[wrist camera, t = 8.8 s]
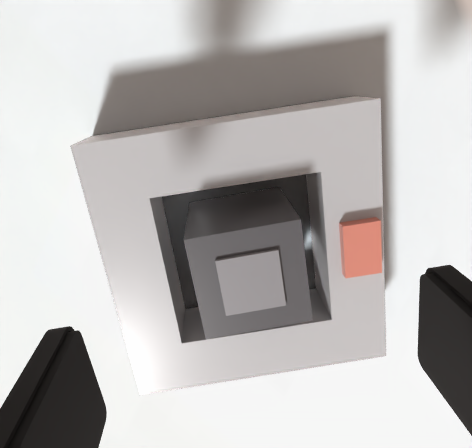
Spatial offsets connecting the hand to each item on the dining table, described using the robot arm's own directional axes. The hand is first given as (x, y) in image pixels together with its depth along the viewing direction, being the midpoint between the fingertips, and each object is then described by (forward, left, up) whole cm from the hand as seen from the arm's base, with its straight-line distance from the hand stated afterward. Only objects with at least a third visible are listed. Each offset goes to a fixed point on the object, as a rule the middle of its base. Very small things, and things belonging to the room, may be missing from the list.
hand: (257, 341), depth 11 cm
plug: (+1, 0, -10) cm, 10 cm away
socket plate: (+1, 0, -10) cm, 10 cm away
